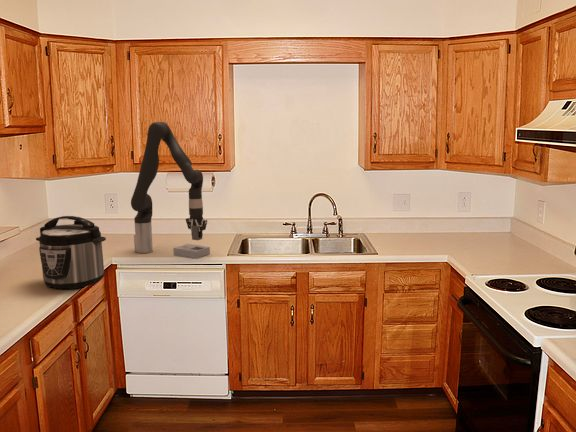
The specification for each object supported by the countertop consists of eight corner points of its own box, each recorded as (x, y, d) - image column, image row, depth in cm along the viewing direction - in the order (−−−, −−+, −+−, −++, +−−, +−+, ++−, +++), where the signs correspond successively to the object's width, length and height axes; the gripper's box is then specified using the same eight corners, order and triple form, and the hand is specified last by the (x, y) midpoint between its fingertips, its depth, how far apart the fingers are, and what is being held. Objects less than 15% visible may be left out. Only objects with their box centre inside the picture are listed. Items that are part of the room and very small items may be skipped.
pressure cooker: (30, 282, 266) (24, 216, 260) (87, 269, 286) (82, 208, 280) (57, 296, 245) (51, 225, 239) (116, 282, 265) (112, 216, 259)
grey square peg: (192, 239, 311) (191, 225, 309) (196, 238, 314) (196, 224, 313) (197, 240, 309) (197, 225, 307) (202, 238, 312) (201, 224, 311)
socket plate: (173, 255, 314) (173, 247, 313) (187, 250, 324) (187, 243, 323) (196, 258, 306) (196, 251, 305) (209, 253, 316) (209, 246, 315)
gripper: (181, 206, 308) (182, 237, 311) (201, 208, 301) (203, 240, 304) (190, 204, 315) (191, 234, 318) (210, 206, 308) (211, 237, 311)
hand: (197, 237), depth 311 cm, fingers closed on grey square peg, 4 cm apart
